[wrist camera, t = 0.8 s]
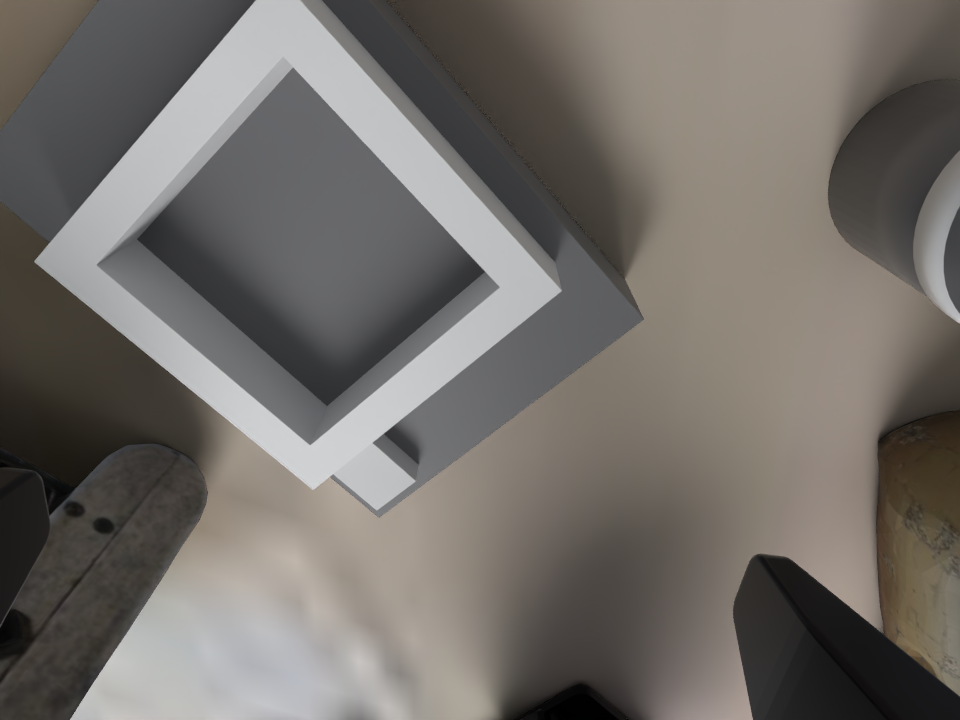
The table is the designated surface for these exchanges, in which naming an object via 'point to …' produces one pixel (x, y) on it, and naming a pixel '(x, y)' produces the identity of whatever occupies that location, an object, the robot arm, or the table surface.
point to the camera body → (307, 231)
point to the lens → (906, 189)
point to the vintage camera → (93, 573)
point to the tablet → (922, 542)
